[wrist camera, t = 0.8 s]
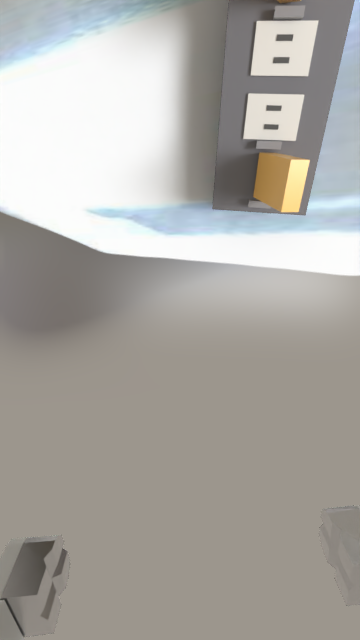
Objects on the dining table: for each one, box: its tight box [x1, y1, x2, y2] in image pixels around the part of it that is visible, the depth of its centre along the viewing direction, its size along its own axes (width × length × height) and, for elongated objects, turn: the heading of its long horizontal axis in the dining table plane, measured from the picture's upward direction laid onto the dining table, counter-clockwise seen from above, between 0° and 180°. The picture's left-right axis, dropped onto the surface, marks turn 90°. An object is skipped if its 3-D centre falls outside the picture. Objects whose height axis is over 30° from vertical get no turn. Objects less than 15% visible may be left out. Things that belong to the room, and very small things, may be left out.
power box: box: [212, 0, 355, 215], centre depth 37 cm, size 27×12×6 cm, turn 178°
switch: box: [253, 152, 310, 212], centre depth 36 cm, size 5×2×8 cm, turn 178°
